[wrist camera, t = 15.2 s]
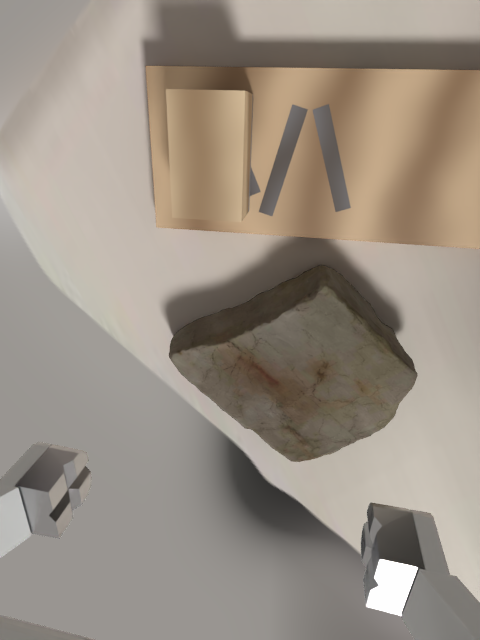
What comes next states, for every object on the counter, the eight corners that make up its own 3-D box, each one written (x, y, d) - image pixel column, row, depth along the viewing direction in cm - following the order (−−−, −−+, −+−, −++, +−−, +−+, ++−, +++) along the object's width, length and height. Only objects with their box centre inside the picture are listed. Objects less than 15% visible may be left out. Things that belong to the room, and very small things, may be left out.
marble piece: (171, 335, 35) (155, 360, 32) (297, 222, 29) (296, 236, 26) (296, 449, 39) (294, 484, 35) (431, 370, 33) (446, 401, 29)
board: (554, 74, 23) (570, 71, 21) (499, 244, 27) (508, 250, 26) (153, 68, 26) (145, 65, 24) (163, 222, 30) (156, 227, 29)
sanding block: (253, 94, 24) (245, 90, 21) (249, 210, 27) (241, 222, 24) (183, 92, 25) (165, 88, 22) (187, 207, 28) (172, 217, 25)
